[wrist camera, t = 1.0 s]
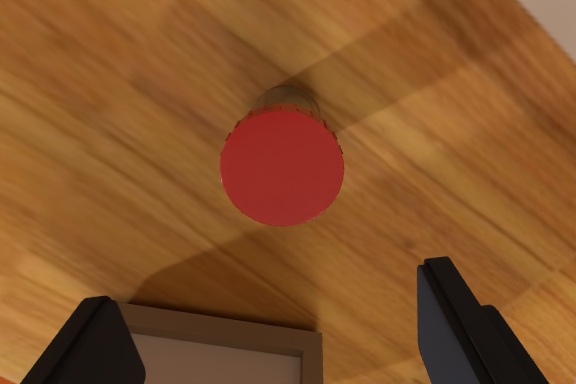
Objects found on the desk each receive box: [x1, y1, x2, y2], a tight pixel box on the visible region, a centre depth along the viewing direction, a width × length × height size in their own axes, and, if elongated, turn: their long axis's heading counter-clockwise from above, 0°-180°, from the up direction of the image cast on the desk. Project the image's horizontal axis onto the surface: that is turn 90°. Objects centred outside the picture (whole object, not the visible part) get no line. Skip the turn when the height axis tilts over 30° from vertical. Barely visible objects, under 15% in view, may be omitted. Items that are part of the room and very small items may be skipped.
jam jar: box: [252, 86, 321, 117], centre depth 25 cm, size 6×6×11 cm
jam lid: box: [220, 102, 344, 226], centre depth 21 cm, size 7×7×2 cm
